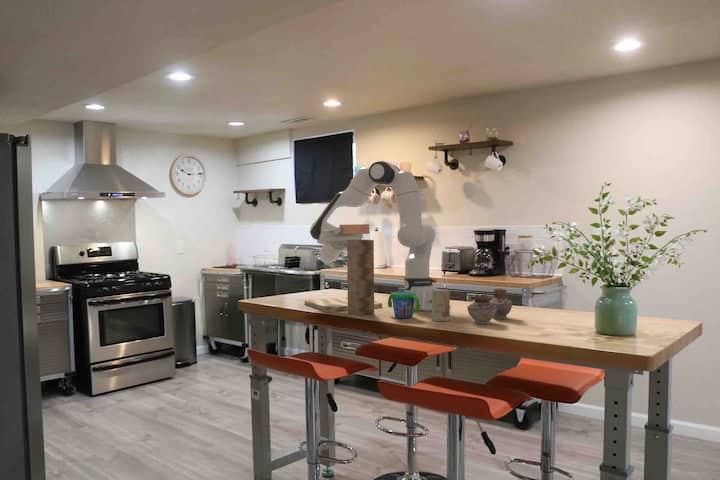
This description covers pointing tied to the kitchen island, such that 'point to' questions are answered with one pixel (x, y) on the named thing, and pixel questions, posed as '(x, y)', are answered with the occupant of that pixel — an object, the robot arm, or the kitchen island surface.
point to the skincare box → (440, 305)
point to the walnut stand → (360, 276)
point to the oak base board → (333, 304)
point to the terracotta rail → (355, 229)
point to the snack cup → (403, 303)
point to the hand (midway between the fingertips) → (347, 228)
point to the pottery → (490, 307)
